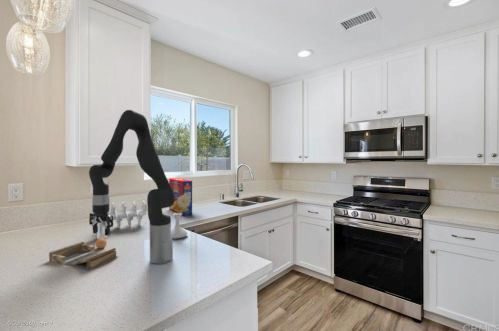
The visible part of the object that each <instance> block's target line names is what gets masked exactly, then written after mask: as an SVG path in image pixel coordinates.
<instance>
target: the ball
mask: <svg viewBox="0 0 499 331" xmlns="http://www.w3.org/2000/svg"><path fill="white" fill-rule="evenodd" d="M107 242H108V241H107V239H103V238H101V239H97V240H96V242H95V245H94V246H95V248H96V249H99V250H100V249H104V248H105V247H106V246H107Z"/></svg>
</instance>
